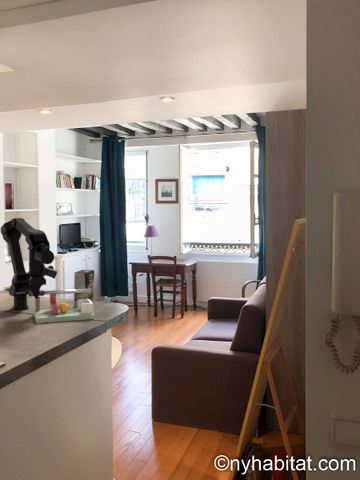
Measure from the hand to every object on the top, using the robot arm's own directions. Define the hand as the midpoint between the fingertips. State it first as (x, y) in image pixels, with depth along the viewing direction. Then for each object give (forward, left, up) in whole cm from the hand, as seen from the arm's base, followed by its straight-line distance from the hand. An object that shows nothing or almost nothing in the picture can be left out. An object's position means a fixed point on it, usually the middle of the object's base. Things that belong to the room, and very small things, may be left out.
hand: (36, 298), depth 187 cm
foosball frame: (+5, +11, -8) cm, 14 cm away
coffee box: (-13, +23, -8) cm, 27 cm away
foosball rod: (+4, +10, -5) cm, 12 cm away
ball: (+5, +11, -4) cm, 12 cm away
